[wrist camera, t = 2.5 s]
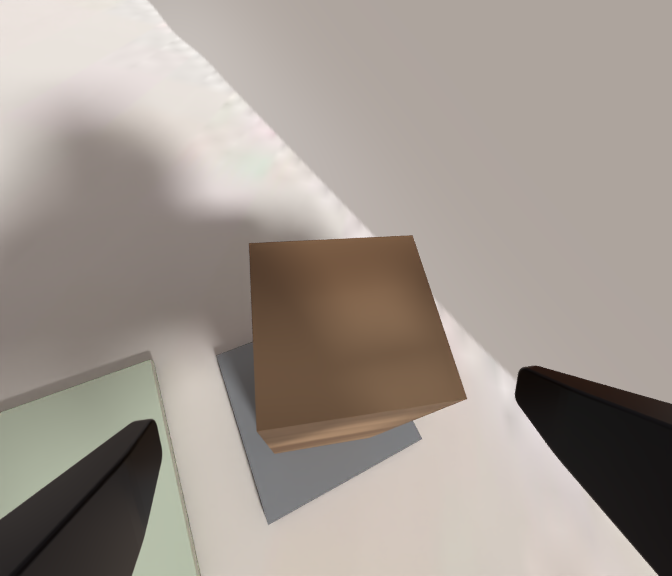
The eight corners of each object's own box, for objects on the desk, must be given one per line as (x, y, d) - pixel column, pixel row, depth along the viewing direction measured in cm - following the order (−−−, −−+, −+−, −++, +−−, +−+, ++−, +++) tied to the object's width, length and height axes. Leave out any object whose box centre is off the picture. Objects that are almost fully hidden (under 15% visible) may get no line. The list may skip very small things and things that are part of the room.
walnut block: (369, 437, 16) (466, 398, 7) (274, 453, 15) (256, 431, 6) (352, 347, 18) (412, 235, 9) (268, 357, 17) (248, 243, 9)
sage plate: (204, 592, 13) (201, 596, 12) (-139, 793, 10) (-158, 808, 9) (153, 362, 17) (150, 359, 16) (-102, 453, 14) (-114, 452, 13)
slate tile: (419, 439, 17) (422, 438, 16) (268, 523, 14) (268, 525, 14) (350, 307, 20) (351, 304, 19) (217, 357, 17) (216, 355, 17)
